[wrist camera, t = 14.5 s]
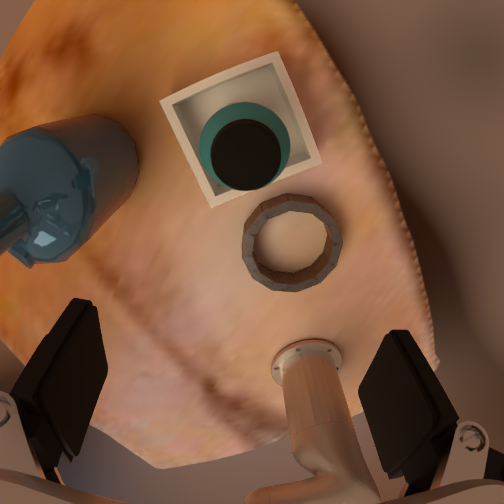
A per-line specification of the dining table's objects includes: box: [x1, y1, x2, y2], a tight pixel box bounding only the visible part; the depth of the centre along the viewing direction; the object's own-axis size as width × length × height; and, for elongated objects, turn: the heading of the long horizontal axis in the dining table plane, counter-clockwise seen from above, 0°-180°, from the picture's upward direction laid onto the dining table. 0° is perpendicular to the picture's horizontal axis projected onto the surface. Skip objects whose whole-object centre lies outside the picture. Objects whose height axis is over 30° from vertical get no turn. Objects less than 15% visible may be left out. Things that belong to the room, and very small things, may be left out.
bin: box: [159, 51, 323, 208], centre depth 33 cm, size 13×13×5 cm
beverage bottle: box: [199, 101, 291, 191], centre depth 25 cm, size 6×7×20 cm
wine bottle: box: [0, 114, 139, 269], centre depth 23 cm, size 14×13×30 cm
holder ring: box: [242, 193, 343, 292], centre depth 41 cm, size 12×12×3 cm
